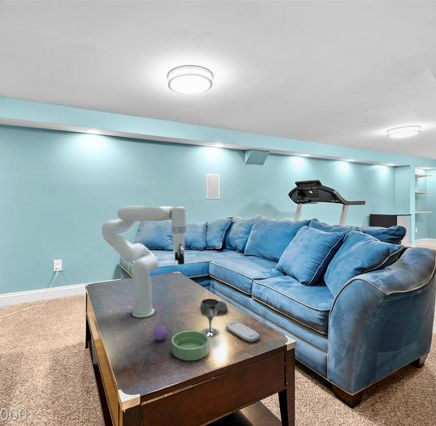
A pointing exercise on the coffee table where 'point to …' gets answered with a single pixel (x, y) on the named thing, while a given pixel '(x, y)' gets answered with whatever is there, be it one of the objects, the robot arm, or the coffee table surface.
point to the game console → (242, 331)
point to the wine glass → (210, 314)
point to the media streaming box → (220, 308)
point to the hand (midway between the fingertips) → (179, 262)
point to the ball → (160, 333)
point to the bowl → (190, 345)
